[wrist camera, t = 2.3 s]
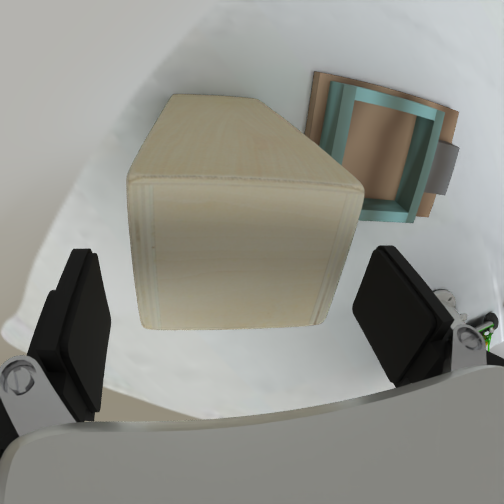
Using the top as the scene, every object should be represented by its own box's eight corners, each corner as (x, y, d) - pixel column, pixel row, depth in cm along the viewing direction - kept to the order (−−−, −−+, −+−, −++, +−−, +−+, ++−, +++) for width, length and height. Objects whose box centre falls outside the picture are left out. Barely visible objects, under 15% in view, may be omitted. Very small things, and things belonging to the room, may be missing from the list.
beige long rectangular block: (166, 169, 30) (142, 343, 13) (169, 93, 26) (123, 170, 9) (248, 171, 31) (324, 336, 14) (258, 98, 27) (375, 183, 10)
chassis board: (450, 108, 30) (476, 118, 26) (422, 211, 38) (441, 229, 34) (314, 71, 27) (333, 74, 23) (292, 203, 34) (305, 224, 30)
